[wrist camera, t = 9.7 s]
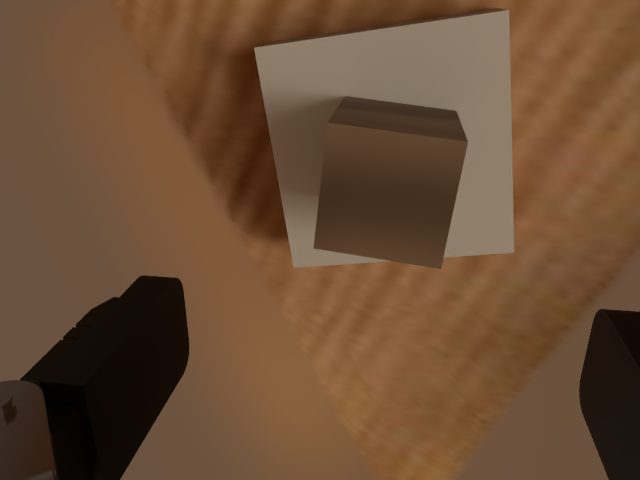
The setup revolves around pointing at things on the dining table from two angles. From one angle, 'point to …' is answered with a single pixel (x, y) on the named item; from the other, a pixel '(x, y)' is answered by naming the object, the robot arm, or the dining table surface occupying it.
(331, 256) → the riser block
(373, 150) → the walnut block
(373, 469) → the dining table surface
